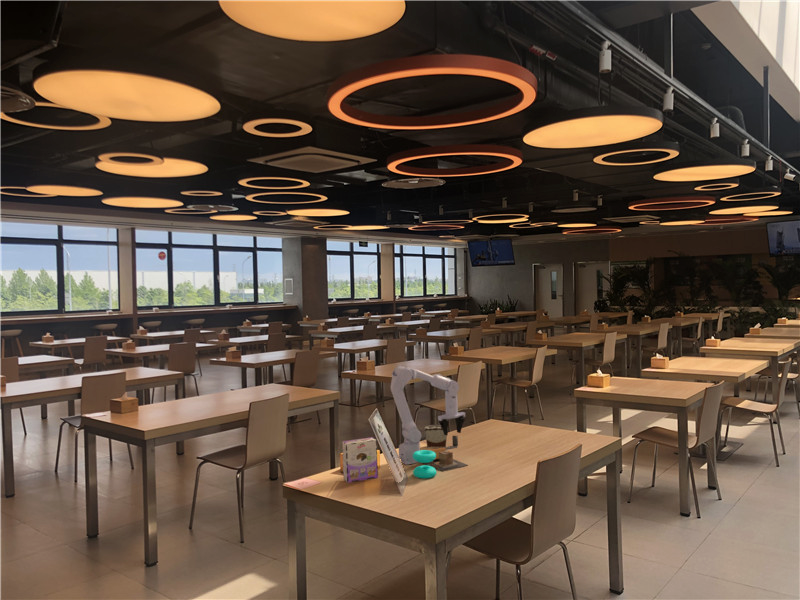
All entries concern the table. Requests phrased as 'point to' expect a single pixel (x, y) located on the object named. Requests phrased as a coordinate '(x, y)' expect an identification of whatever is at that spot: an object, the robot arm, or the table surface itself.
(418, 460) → the donuts
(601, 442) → the table surface
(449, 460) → the block
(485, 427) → the table surface
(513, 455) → the table surface
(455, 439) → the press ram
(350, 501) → the table surface
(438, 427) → the food container
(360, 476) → the candy box
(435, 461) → the frame
